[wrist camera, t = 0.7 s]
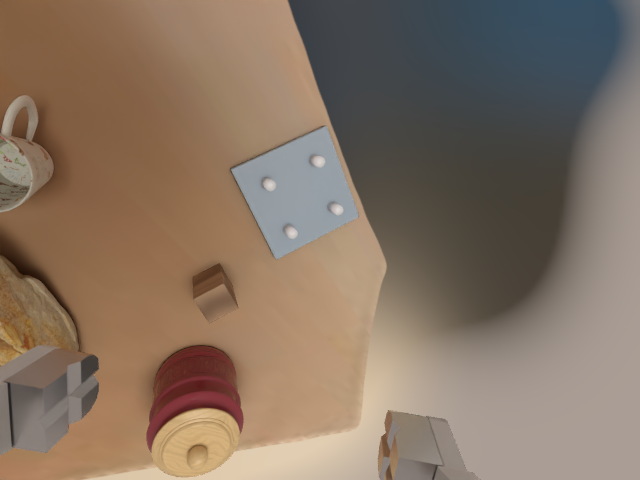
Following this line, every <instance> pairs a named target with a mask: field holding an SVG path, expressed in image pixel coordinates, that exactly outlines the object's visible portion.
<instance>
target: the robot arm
mask: <svg viewBox="0 0 640 480" xmlns="http://www.w3.org/2000/svg"><path fill="white" fill-rule="evenodd" d="M98 369H99V363H98V358H97V357H96V356H95V355H93V354H88V353H83V352H78V351H74V350H69V349H64V348H58V347H54V346H49V345H38V346H36V347H34V348H33V349H31V350H29V351H27V352H26V353H24V354H22V355H20V356H19V357H17V358H15V359H13V360H12V361H10V362H8V363H7V364H5V365H3V366H1V367H0V455H2V454H4V453H6V452H8V451H10V450H11V449H12V447H13V448H19V449H25V450H31V451H37V452H43V453H47V452H48V451H49V450H50V449H51V448H52V447H53V446H54V445H55V444H56V443H57V442H58V441H59V440H60V439H61V438H62V437H64V436H65V435H66V434H67V433H68V429H69V424H72V423H74V422H76V421H79V420H81V419H82V418H83V417H84V416H85V415H86V414H87V413H88V412H89V411H90V410H91V408H92V406H93V405H94V403H95V401H96V399H97V395H98V392H99V383H98V381H97V380H96V378H95V376H94V374H95V373H96V371H97V370H98ZM385 430H386V433H385V434H384V435H383V436H382V437H381V442H380V447H379V456H378V471H379V478H380V479H381V480H480V479H479V478H478V477H477V476H476V475H475V474H474V473H472V472H468V471H467V470H466V467H465V465H464V462H463V460H462V457H461V455H460V452H459V449H458V447H457V444H456V442H455V439H454V437H453V434H452V432H451V429H450V427H449V424H448V422H447V421H446V420H445V419H442V418H435V417H429V416H426V417H424V416H419V415H413V414H408V413H403V412H397V411H391V410H388V412H387V415H386V419H385Z"/></svg>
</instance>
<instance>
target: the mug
mask: <svg viewBox="0 0 640 480" xmlns="http://www.w3.org/2000/svg"><path fill="white" fill-rule="evenodd" d="M23 107H26V109H27V111H28V114H29V123H28V129H27V135H26V139H22V138H18V137H14V136H11V134H12V129H13V125H14V121H15V118H16V116H17V114H18V113H19V111H20V110H21V109H22V108H23ZM37 124H38V113H37V108H36V105H35V103H34V101H33V99H32V98H31V97H29V96H27V95H22V96H19V97H18V98H16V99H15V100H14V101H13V102H12V103H11V104H10V106H9V107H8V109H7V111H6V114H5V117H4V121H3V125H2V129H1V133H0V213H1V212H6V211H9V210H11V209H14V208H16V207H18V206H20V205H21V204H23V203H24V202H25V201H26V200H27V199H29V198H30V197H31V196H32V195H33V194H34V193H35V192H37V191H38V190H39V189H40V188H41V187H42V186H43V185H45V184H46V183H47V182H48V181H49V180H50V178H51V177H52V174H53V171H54V165H53V161H52V158H51V156H50V155H49V153H48V152H47V151H46V150H45V149H44V148H43V147H41V146H40V145H38V144H37V143H35V142H32V139H33V136H34V134H35V131H36V128H37Z"/></svg>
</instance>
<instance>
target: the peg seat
mask: <svg viewBox="0 0 640 480" xmlns="http://www.w3.org/2000/svg"><path fill="white" fill-rule="evenodd" d="M230 170H231V172H232V174H233V176H234V178H235V180H236V182H237V184H238V186H239V188H240V190H241V192H242V194H243V196H244V198H245V200H246V202H247V204H248V206H249V207H250V209H251V211H252V213H253V215H254V217H255V219H256V221H257V223H258V225H259V227H260V229H261V231H262V233H263V235H264V237H265V239H266V241H267V243H268V245H269V247H270V249H271V251H272V253H273V255H274V257H275V259H276V260H277V259H279V258H281V257H283V256H285V255H286V254H288V253H290V252H292V251H294V250H296V249H298V248H300V247H302V246H304V245H306V244H308V243H309V242H311V241H313V240H315V239H317V238H319V237H321V236H323V235H325V234H327V233H329V232H331V231H332V230H334V229H336V228H338V227H340V226H342V225H344V224H346V223H348V222H350V221H352V220H354V219H355V218H357V217H359V215H358V212H357V209H356V206H355V204H354V201H353V198H352V195H351V192H350V190H349V187H348V184H347V181H346V178H345V176H344V173H343V170H342V167H341V165H340V162H339V159H338V156H337V153H336V151H335V148H334V145H333V142H332V140H331V137H330V134H329V131H328V128H327V126H322V127H320V128H318V129H316V130H314V131H312V132H309V133H307V134H305V135H303V136H301V137H298V138H296V139H294V140H292V141H290V142H287V143H285V144H283V145H281V146H279V147H277V148H274V149H272V150H270V151H268V152H266V153H263V154H261V155H259V156H257V157H255V158H252V159H250V160H248V161H246V162H244V163H241V164H239V165H237V166H235V167H233V168H231V169H230Z"/></svg>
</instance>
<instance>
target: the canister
mask: <svg viewBox="0 0 640 480" xmlns="http://www.w3.org/2000/svg"><path fill="white" fill-rule="evenodd" d="M240 407H241V402H240V397H239V394H238V391H237V385H236V373H235V369H234V366H233V364H232V362H231V361H230V359H229V358H228V356H227V355H226V354H225V353H223V352H222V351H220V350H218V349H216V348H213V347H209V346H193V347H189V348H185V349H183V350H180V351H178V352H177V353H175V354H173V355H172V356H171V357H169V358H168V359H167V360H166V361H165V362H164V364H163V365H162V366H161V368H160V370H159V372H158V374H157V376H156V379H155V383H154V398H153V405H152V408H151V411H150V416H149V422H150V424H149V427H148V430H147V436H146V439H147V445H148V448H149V450H150V452H151V453H152V458H153V461H154V463H155V465H156V466H157V467H158V468H159V469H160V470H161V471H163V472H164V473H166V474H169V475H172V476H176V477H193V476H199V475H202V474H205V473H208V472H210V471H212V470H214V469H216V468H217V467H219V466H220V465H222V464H223V463H224V462H225V461H227V459H228V458H229V457H230V456H231V455H232V454H233V452H234V451H235V449H236V447H237V445H238V442H239V437H240V433H241V431H242V427H243V413H242V410H241V408H240Z"/></svg>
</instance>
